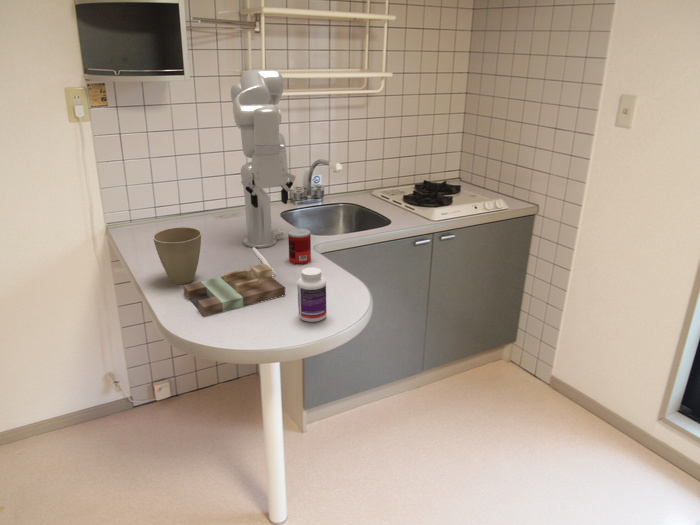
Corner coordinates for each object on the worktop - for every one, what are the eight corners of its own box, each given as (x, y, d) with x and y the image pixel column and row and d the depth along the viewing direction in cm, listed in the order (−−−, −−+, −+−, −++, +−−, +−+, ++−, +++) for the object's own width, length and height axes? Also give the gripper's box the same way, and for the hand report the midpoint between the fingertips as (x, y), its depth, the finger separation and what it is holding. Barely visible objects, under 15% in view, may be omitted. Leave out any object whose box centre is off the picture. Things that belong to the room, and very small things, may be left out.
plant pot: (157, 274, 192) (151, 229, 186) (202, 268, 197) (198, 225, 191) (160, 292, 179) (154, 244, 173) (208, 285, 184) (204, 239, 178)
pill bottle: (331, 318, 164) (331, 272, 158) (308, 326, 160) (307, 279, 154) (316, 308, 170) (316, 263, 165) (293, 315, 166) (292, 269, 160)
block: (265, 275, 185) (265, 263, 184) (272, 280, 181) (272, 268, 180) (251, 278, 182) (250, 266, 181) (258, 283, 179) (257, 272, 177)
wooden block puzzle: (260, 276, 192) (259, 261, 190) (285, 295, 178) (284, 279, 176) (184, 294, 178) (182, 277, 176) (204, 316, 164) (203, 299, 162)
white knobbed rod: (245, 251, 215) (245, 244, 214) (256, 249, 216) (255, 242, 215) (265, 278, 191) (265, 270, 190) (277, 276, 193) (276, 269, 192)
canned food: (314, 259, 207) (314, 230, 203) (303, 266, 200) (303, 237, 196) (296, 255, 210) (295, 227, 206) (285, 263, 203) (284, 233, 199)
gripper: (289, 145, 179) (290, 198, 185) (235, 150, 171) (239, 205, 178) (298, 149, 173) (300, 204, 179) (243, 154, 165) (247, 211, 171)
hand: (270, 204), depth 178 cm, fingers open, 9 cm apart
